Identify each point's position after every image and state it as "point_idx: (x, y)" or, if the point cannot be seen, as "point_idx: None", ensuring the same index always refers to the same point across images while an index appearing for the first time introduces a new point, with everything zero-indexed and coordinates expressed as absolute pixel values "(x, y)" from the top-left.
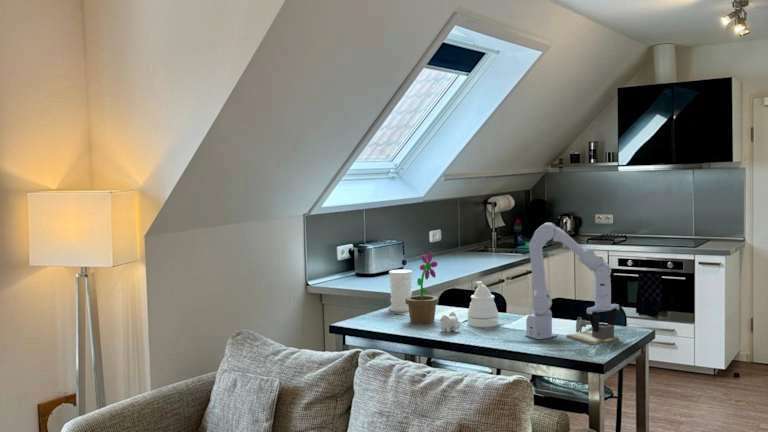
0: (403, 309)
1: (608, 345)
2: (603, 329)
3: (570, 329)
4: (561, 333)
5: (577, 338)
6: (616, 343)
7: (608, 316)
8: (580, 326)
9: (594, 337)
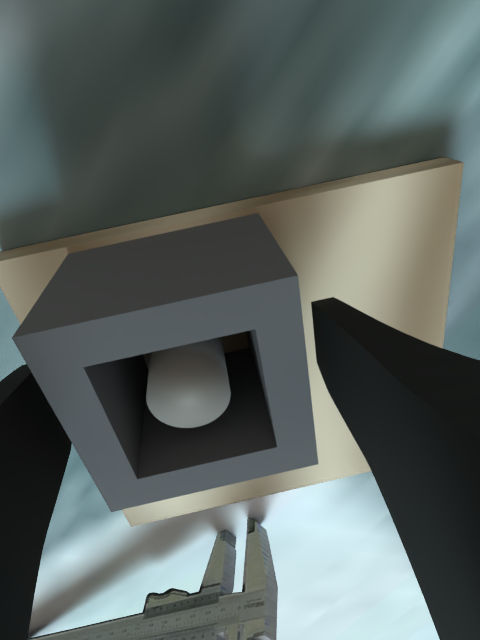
0: None
1: (296, 5)
2: (276, 262)
3: (239, 587)
4: (361, 528)
5: None
6: (127, 66)
7: (3, 600)
8: (224, 580)
9: None
